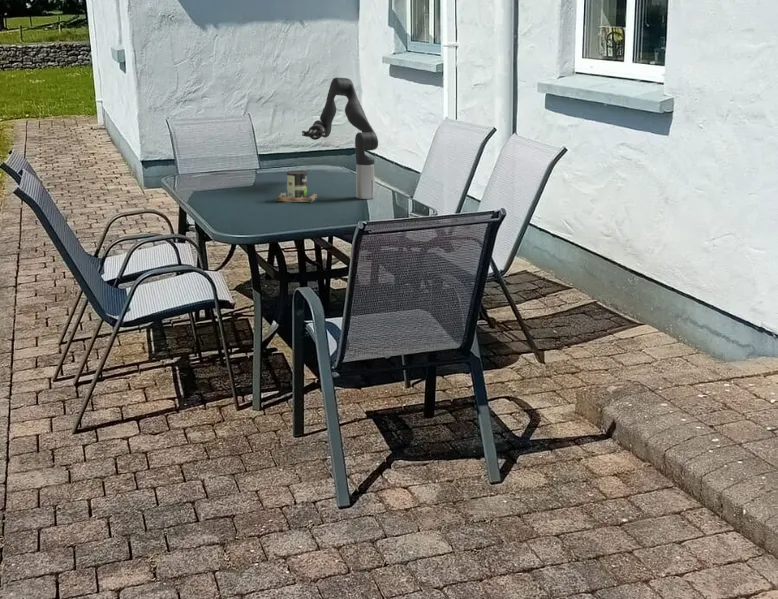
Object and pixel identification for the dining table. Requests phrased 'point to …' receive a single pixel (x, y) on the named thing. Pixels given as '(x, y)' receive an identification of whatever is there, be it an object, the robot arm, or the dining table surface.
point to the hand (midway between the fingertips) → (310, 135)
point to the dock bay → (283, 198)
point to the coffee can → (297, 184)
